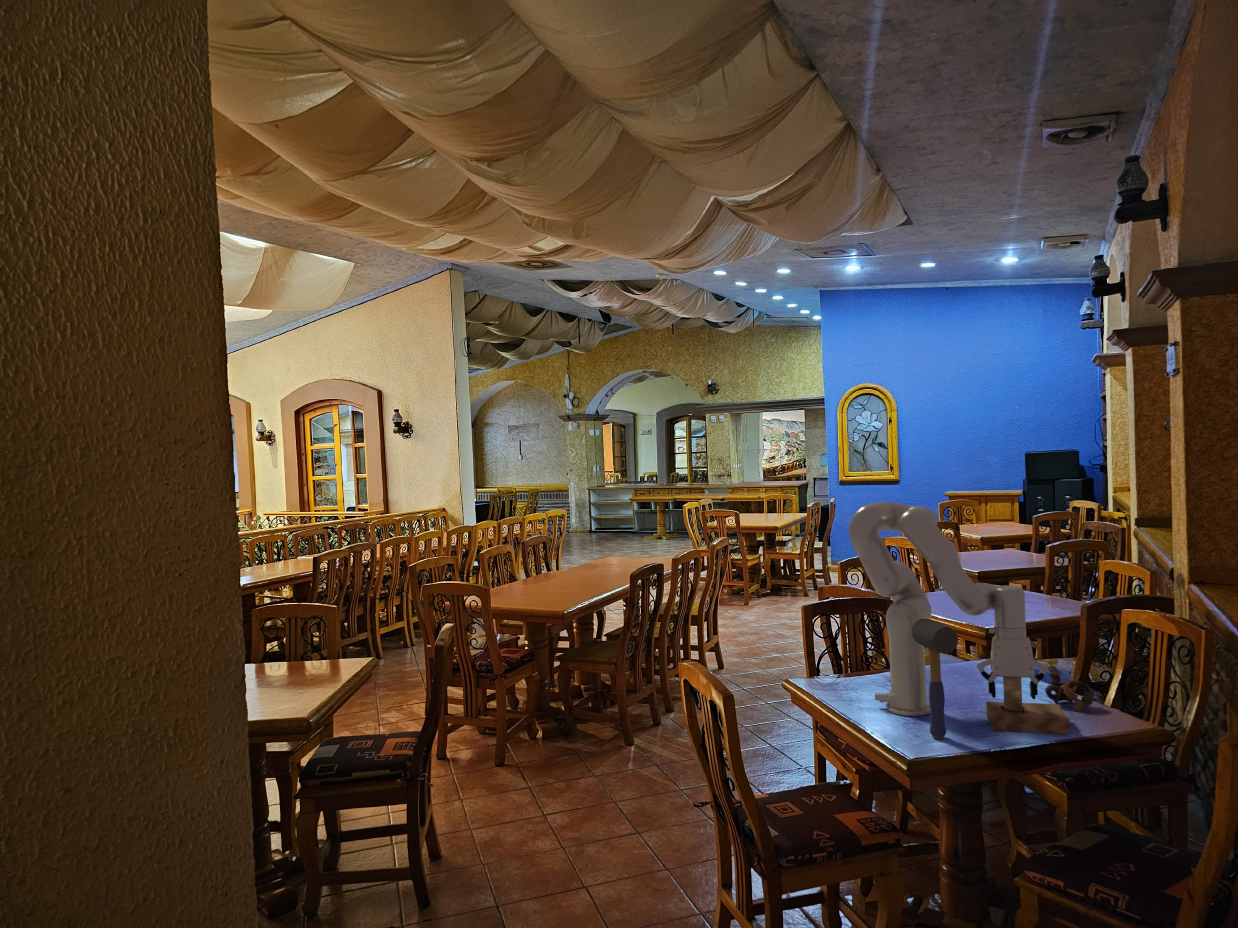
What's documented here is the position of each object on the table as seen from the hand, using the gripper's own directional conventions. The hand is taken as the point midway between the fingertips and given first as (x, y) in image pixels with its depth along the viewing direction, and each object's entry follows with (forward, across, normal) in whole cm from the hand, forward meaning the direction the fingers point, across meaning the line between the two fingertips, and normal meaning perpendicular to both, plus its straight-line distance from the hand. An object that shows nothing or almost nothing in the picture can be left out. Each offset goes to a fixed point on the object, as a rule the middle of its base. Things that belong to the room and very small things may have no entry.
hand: (1013, 696), depth 222 cm
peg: (+7, 0, 0) cm, 7 cm away
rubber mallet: (+7, -20, -14) cm, 26 cm away
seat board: (+7, +3, 0) cm, 8 cm away
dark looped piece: (+8, +17, +19) cm, 27 cm away
